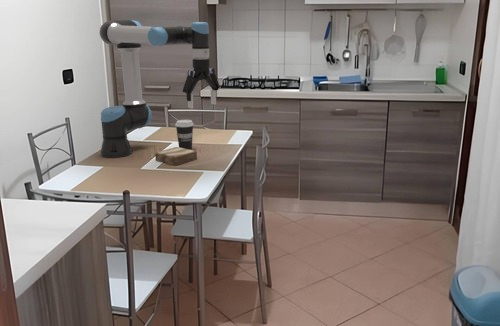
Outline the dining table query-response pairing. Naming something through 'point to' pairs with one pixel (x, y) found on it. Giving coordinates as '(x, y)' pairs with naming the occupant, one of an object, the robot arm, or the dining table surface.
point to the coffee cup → (185, 133)
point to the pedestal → (176, 156)
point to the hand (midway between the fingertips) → (202, 106)
